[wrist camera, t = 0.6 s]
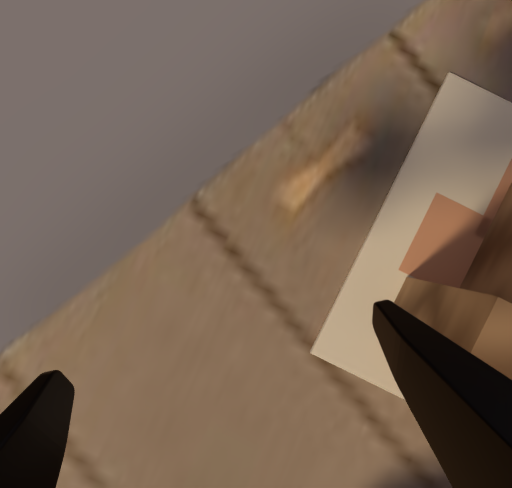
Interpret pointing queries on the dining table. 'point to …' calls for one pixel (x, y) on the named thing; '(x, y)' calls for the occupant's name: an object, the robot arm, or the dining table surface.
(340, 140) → the dining table surface
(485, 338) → the t block
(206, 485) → the dining table surface
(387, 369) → the mat
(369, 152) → the dining table surface
